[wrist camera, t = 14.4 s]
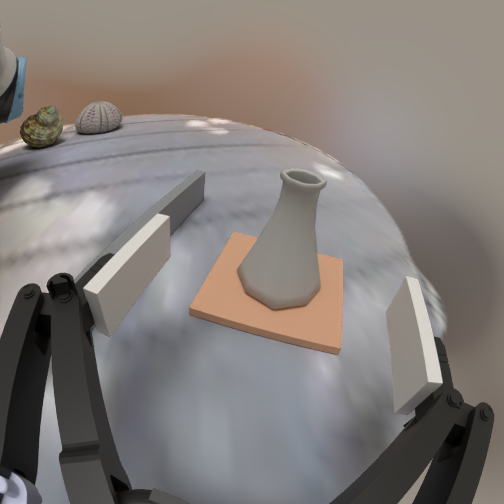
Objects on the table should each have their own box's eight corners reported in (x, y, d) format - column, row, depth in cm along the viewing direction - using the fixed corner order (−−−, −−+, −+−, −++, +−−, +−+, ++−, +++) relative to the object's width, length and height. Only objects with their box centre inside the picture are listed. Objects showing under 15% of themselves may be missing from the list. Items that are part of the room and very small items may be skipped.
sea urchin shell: (100, 137, 60) (100, 106, 56) (65, 135, 62) (64, 106, 57) (131, 126, 71) (132, 98, 66) (96, 123, 73) (96, 98, 68)
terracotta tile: (337, 354, 21) (340, 348, 21) (189, 314, 23) (189, 307, 22) (340, 265, 31) (342, 259, 31) (233, 237, 33) (234, 231, 32)
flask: (271, 323, 22) (302, 205, 16) (222, 268, 27) (234, 162, 21) (333, 292, 26) (370, 192, 20) (283, 249, 31) (304, 156, 25)
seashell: (53, 136, 61) (52, 101, 55) (69, 142, 57) (68, 102, 51) (19, 148, 53) (16, 111, 47) (31, 155, 49) (28, 112, 43)
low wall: (77, 349, 18) (60, 313, 16) (65, 343, 18) (48, 306, 16) (203, 199, 39) (205, 172, 37) (195, 197, 39) (196, 170, 37)
